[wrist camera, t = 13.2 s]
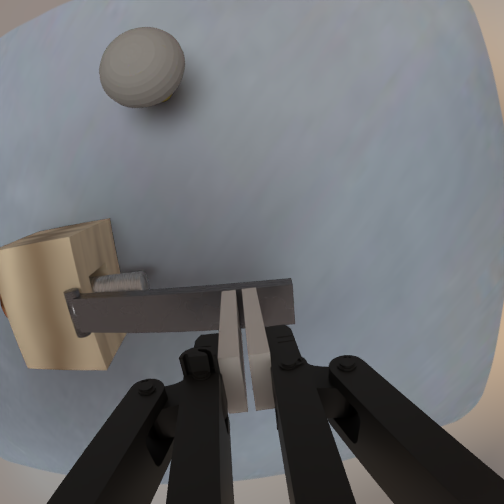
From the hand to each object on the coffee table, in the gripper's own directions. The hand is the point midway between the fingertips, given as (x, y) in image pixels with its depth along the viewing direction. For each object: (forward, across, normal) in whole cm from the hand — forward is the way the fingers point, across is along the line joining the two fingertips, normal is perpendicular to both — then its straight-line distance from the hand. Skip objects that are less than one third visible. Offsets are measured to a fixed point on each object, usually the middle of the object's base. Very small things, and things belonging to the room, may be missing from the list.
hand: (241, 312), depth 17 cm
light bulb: (+11, -5, +15) cm, 19 cm away
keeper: (+2, -4, 0) cm, 5 cm away
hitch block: (+10, -15, 0) cm, 18 cm away
